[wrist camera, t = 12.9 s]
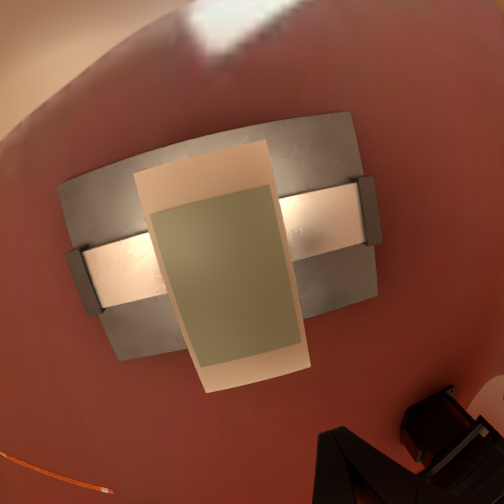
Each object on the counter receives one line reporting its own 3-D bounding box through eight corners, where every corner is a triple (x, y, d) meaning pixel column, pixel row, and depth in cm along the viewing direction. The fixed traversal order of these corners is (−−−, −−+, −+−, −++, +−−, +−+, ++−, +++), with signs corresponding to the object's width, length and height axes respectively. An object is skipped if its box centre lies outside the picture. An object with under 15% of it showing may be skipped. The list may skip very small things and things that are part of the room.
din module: (245, 154, 16) (266, 138, 9) (279, 304, 18) (312, 369, 12) (165, 175, 15) (131, 173, 9) (207, 323, 18) (206, 396, 11)
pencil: (115, 490, 23) (114, 494, 23) (-1, 451, 21) (-2, 454, 20) (113, 487, 23) (112, 491, 23) (-3, 447, 21) (-5, 451, 20)
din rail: (343, 114, 17) (358, 107, 15) (371, 290, 20) (386, 302, 18) (63, 184, 16) (46, 186, 14) (122, 353, 19) (114, 371, 17)
